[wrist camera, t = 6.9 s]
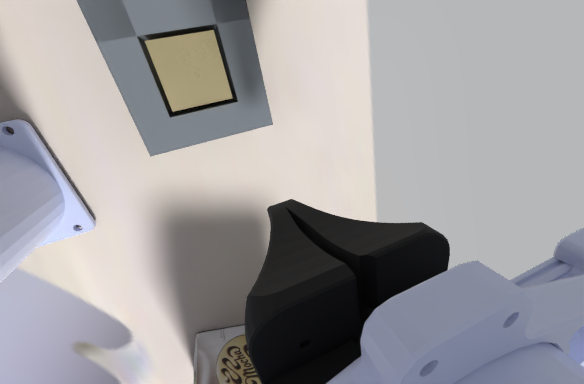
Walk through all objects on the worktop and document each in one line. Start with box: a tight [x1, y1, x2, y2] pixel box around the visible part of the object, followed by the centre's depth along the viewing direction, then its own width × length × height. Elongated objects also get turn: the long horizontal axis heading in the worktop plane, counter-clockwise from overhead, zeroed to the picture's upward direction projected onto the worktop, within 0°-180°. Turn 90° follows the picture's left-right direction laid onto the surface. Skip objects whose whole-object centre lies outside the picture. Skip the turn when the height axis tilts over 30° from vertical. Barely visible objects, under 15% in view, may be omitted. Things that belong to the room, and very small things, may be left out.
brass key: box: [145, 30, 233, 112], centre depth 15 cm, size 4×4×3 cm
